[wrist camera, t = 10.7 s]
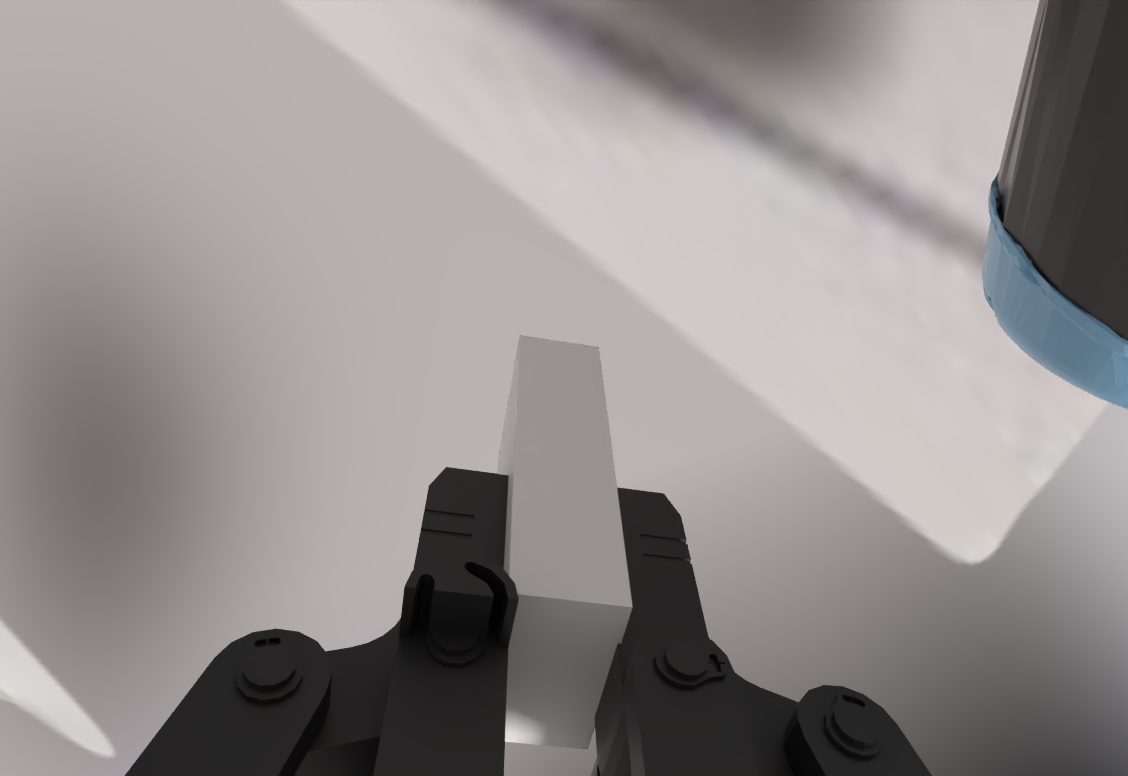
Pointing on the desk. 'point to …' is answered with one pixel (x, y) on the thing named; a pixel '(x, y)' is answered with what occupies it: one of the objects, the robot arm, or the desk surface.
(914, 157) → the desk surface
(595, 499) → the robot arm
